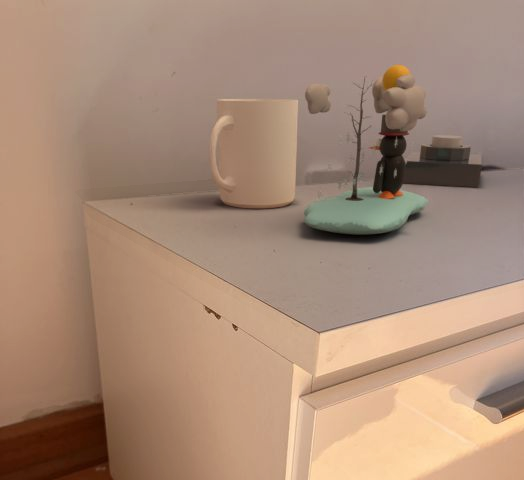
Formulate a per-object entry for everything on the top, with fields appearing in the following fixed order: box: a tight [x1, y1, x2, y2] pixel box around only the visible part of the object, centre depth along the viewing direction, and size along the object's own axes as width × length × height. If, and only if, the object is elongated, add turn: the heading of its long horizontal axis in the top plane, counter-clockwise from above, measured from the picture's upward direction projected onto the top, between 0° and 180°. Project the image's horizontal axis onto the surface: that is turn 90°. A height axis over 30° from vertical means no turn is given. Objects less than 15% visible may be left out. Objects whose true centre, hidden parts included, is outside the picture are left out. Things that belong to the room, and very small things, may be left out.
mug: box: [208, 98, 299, 210], centre depth 68 cm, size 10×12×12 cm
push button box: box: [403, 142, 483, 188], centre depth 89 cm, size 11×13×5 cm
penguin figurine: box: [303, 64, 429, 236], centre depth 58 cm, size 20×11×15 cm, turn 149°
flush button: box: [430, 134, 463, 147], centre depth 88 cm, size 4×4×2 cm
